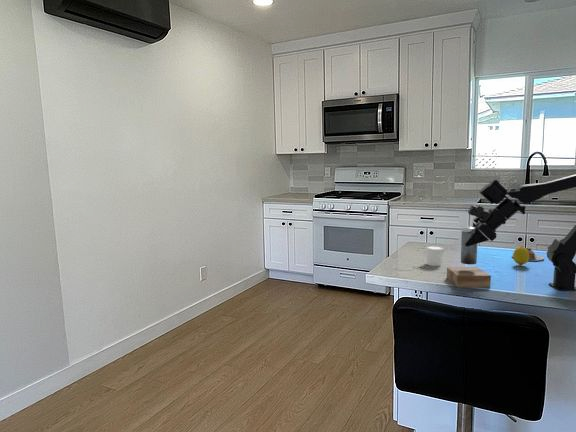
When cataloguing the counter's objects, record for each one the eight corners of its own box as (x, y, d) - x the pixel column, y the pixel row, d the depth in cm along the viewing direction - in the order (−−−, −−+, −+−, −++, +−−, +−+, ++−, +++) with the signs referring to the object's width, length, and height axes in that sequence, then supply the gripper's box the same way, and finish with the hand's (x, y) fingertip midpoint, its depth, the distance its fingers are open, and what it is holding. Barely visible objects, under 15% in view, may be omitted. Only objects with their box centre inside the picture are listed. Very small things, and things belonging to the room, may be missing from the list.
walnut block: (490, 286, 143) (490, 275, 142) (457, 287, 143) (458, 276, 143) (477, 277, 154) (477, 266, 153) (446, 277, 154) (447, 267, 154)
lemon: (530, 267, 165) (531, 247, 164) (515, 267, 166) (516, 247, 165) (525, 264, 171) (526, 244, 169) (510, 263, 172) (511, 244, 171)
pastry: (518, 254, 188) (518, 244, 188) (548, 259, 179) (548, 248, 179) (507, 259, 180) (507, 248, 180) (538, 264, 172) (538, 253, 171)
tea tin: (479, 263, 148) (481, 228, 146) (470, 265, 146) (471, 229, 144) (466, 259, 153) (468, 226, 151) (457, 262, 150) (458, 227, 148)
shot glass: (424, 265, 172) (424, 248, 171) (427, 261, 178) (427, 245, 177) (441, 267, 169) (442, 250, 168) (444, 263, 175) (444, 246, 174)
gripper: (480, 194, 153) (447, 223, 158) (486, 199, 136) (449, 232, 141) (503, 216, 152) (469, 244, 157) (512, 224, 134) (474, 256, 139)
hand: (465, 243), depth 149 cm, fingers closed on tea tin, 5 cm apart
